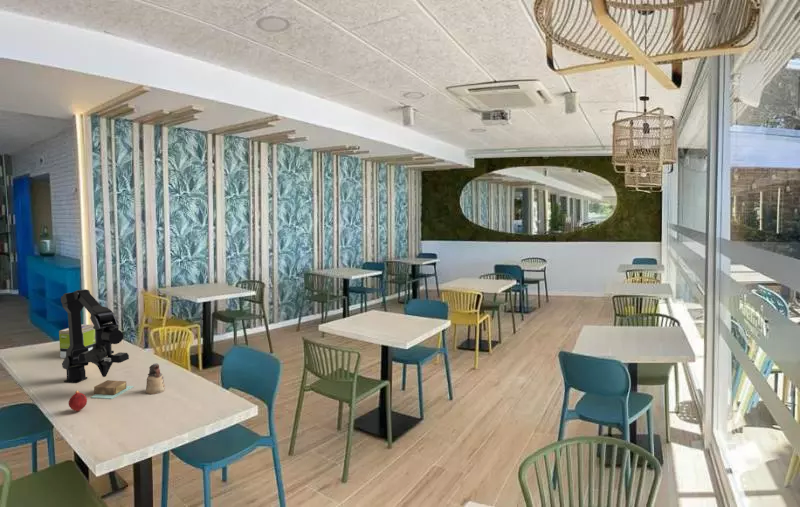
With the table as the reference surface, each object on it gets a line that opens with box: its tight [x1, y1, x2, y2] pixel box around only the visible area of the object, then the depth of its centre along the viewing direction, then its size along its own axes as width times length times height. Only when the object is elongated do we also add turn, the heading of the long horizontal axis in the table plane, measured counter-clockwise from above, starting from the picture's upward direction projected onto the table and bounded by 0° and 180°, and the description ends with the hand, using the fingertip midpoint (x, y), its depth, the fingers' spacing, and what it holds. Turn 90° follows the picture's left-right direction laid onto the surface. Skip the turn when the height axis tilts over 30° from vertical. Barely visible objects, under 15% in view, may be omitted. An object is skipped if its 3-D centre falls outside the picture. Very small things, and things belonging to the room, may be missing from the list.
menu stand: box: [93, 380, 127, 395], centre depth 205 cm, size 3×8×9 cm
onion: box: [68, 390, 88, 412], centre depth 185 cm, size 6×6×8 cm
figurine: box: [145, 363, 166, 395], centre depth 207 cm, size 7×7×12 cm
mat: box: [90, 385, 134, 400], centre depth 205 cm, size 9×14×1 cm, turn 175°
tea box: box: [58, 323, 95, 359], centre depth 256 cm, size 15×10×15 cm, turn 172°
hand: (104, 376), depth 205 cm, fingers closed
